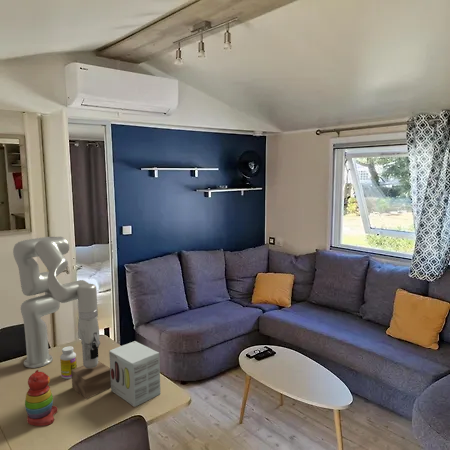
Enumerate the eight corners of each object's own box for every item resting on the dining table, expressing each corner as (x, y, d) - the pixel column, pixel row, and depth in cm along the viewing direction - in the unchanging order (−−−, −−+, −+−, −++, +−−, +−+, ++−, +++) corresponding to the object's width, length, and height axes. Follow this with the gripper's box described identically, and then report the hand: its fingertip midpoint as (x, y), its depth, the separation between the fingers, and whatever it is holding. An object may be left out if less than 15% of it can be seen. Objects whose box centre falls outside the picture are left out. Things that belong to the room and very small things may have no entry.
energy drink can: (97, 361, 175) (96, 327, 173) (98, 367, 170) (97, 332, 168) (83, 363, 173) (81, 329, 171) (83, 370, 168) (81, 335, 166)
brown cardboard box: (72, 387, 173) (71, 370, 171) (98, 377, 181) (97, 360, 180) (86, 398, 164) (85, 379, 163) (112, 387, 173) (111, 369, 172)
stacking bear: (53, 424, 148) (49, 378, 145) (22, 428, 145) (18, 381, 143) (58, 408, 158) (55, 364, 156) (30, 411, 156) (26, 367, 154)
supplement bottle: (71, 380, 179) (70, 352, 177) (58, 378, 180) (56, 351, 179) (80, 372, 186) (78, 345, 184) (67, 371, 187) (65, 344, 185)
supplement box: (110, 391, 169) (107, 350, 167) (136, 379, 179) (135, 340, 176) (134, 407, 158) (132, 363, 155) (161, 393, 167) (160, 351, 165)
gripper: (69, 311, 172) (72, 352, 174) (90, 321, 160) (92, 365, 162) (86, 307, 177) (88, 346, 180) (107, 316, 165) (109, 358, 168)
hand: (90, 355), depth 171 cm, fingers closed on energy drink can, 6 cm apart
